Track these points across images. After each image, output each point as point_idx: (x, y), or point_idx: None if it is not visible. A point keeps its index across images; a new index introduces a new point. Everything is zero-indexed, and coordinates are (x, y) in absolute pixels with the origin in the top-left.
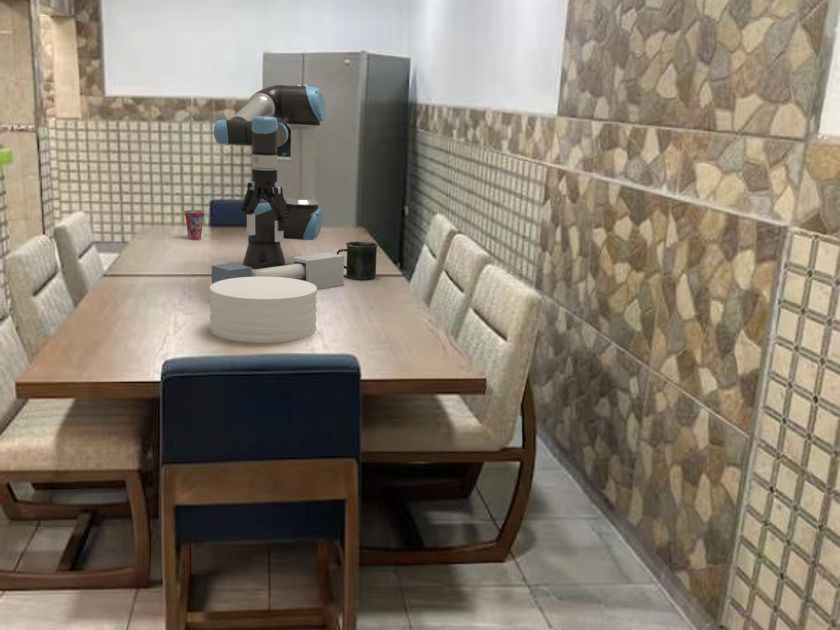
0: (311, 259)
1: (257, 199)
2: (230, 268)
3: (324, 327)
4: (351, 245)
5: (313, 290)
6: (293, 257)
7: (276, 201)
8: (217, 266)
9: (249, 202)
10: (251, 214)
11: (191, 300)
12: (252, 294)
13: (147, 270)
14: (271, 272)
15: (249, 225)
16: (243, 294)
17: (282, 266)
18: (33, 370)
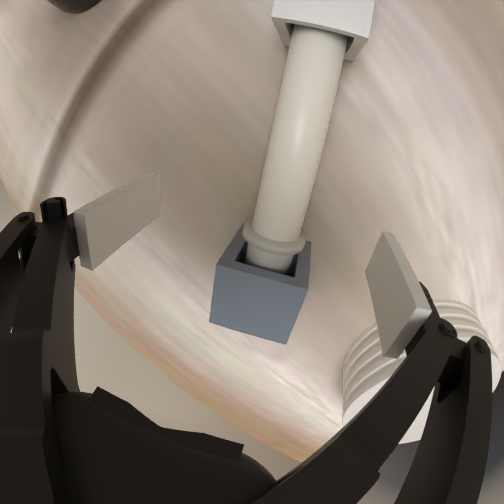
0: (357, 9)
1: (67, 370)
2: (269, 327)
3: (488, 315)
4: None
5: (495, 383)
6: (278, 17)
7: (409, 488)
8: (226, 323)
9: (11, 277)
10: (86, 243)
11: (210, 295)
12: (421, 432)
13: (23, 170)
14: (311, 177)
15: (131, 230)
16: (410, 436)
17: (307, 111)
18: (298, 460)
